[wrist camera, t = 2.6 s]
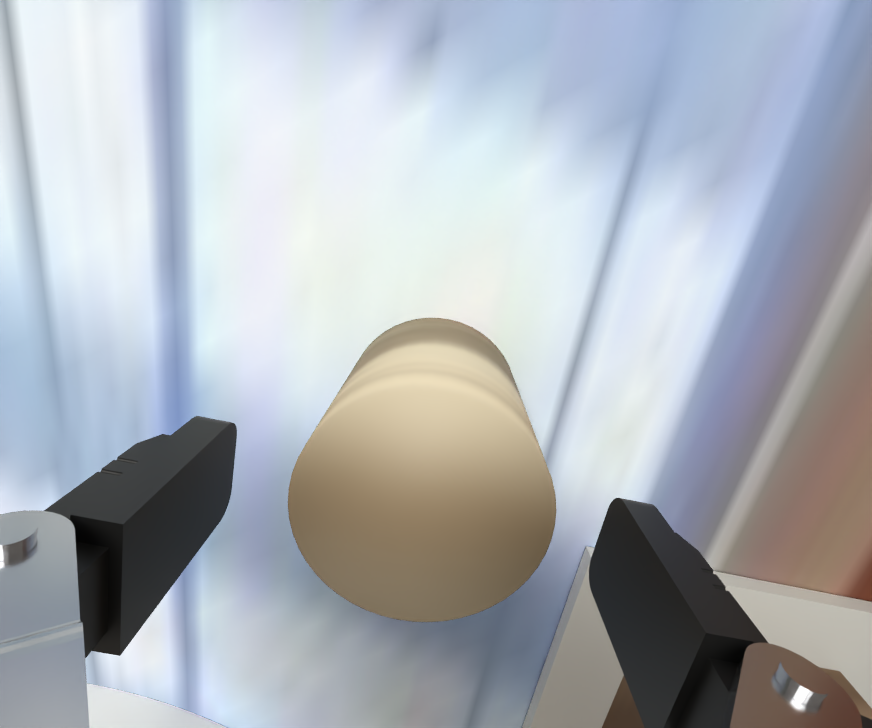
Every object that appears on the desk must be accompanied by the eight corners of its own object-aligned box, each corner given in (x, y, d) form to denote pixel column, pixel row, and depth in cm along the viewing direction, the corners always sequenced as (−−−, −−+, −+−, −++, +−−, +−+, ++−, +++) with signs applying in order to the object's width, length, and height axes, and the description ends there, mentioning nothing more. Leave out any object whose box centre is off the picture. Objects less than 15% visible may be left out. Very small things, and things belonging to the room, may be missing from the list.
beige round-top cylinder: (364, 301, 14) (305, 362, 8) (534, 337, 14) (590, 420, 9) (339, 454, 16) (274, 596, 10) (493, 485, 16) (517, 642, 10)
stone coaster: (586, 546, 16) (591, 558, 16) (929, 613, 17) (946, 627, 16) (498, 792, 20) (500, 809, 19) (784, 843, 20) (794, 861, 20)
